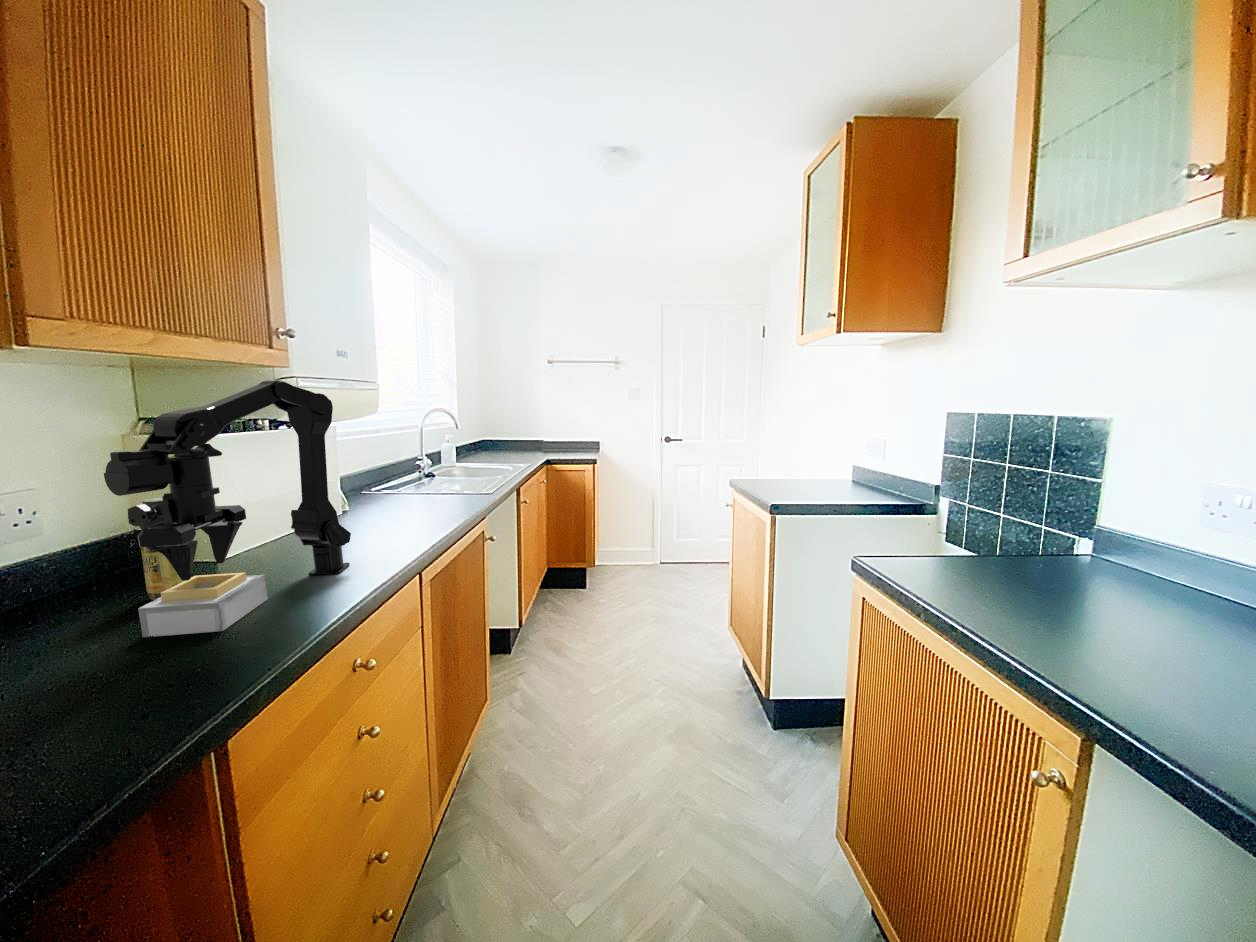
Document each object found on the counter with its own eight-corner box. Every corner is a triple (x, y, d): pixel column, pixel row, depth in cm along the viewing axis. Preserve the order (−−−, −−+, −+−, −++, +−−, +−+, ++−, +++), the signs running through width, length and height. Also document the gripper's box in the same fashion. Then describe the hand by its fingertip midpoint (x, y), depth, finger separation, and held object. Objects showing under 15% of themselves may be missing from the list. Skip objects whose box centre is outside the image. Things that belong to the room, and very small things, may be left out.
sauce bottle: (142, 598, 102) (126, 500, 99) (181, 588, 107) (166, 495, 104) (157, 604, 99) (141, 503, 96) (196, 593, 104) (182, 497, 101)
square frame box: (199, 604, 98) (194, 571, 98) (267, 599, 100) (263, 567, 99) (142, 637, 85) (136, 599, 84) (222, 630, 87) (217, 594, 86)
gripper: (177, 478, 97) (189, 558, 99) (91, 497, 79) (108, 594, 81) (242, 476, 99) (252, 554, 101) (172, 493, 80) (186, 589, 83)
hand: (204, 571), depth 91 cm, fingers open, 9 cm apart
